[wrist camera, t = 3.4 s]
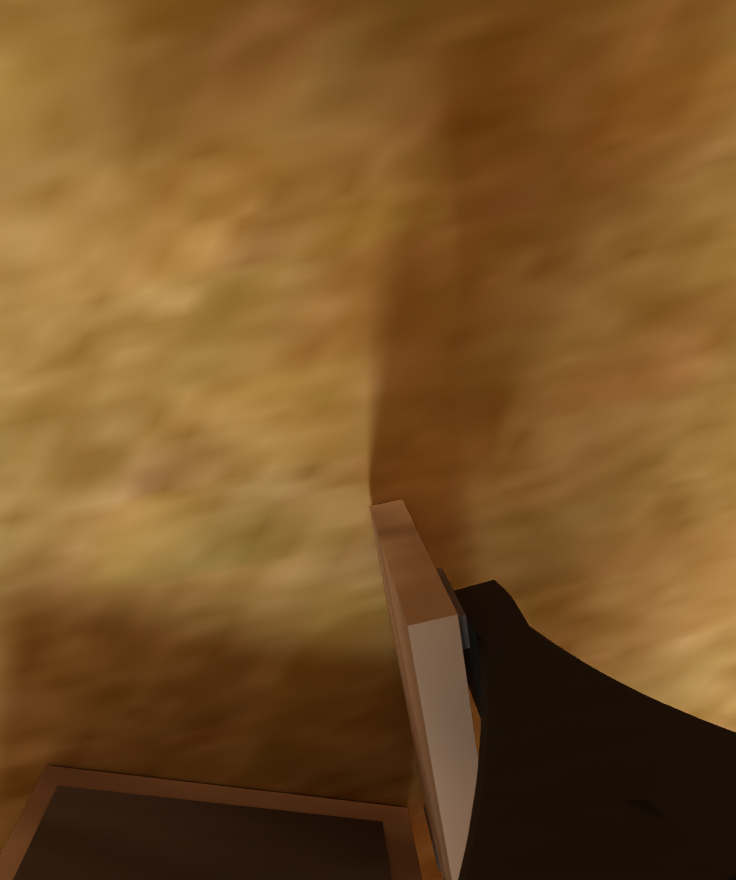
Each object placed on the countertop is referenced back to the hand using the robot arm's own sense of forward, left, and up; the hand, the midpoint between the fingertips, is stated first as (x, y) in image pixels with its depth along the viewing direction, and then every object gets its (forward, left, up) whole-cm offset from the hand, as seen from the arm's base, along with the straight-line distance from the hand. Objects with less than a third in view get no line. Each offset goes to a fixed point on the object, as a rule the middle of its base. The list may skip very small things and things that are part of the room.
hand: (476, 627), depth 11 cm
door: (-3, 0, -2) cm, 4 cm away
